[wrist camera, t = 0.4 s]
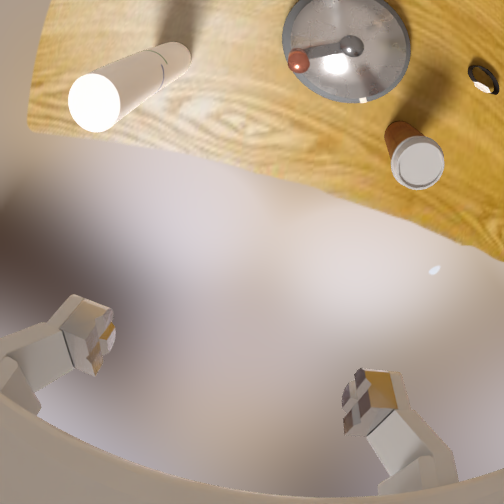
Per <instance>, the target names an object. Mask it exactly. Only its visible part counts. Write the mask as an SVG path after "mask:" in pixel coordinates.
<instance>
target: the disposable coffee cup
mask: <svg viewBox="0 0 504 504" xmlns="http://www.w3.org/2000/svg"><path fill="white" fill-rule="evenodd" d="M384 138H385V142H386V145H387V148H388V152H389V155H390V159H391V169H392V173H393V175H394V177H395V179H396V180H397V181H398V182H399V183H400V184H402V185H404V186H406V187H407V188H410V189H414V190H422V189H426V188H429V187H430V186H432V185H434V184H435V183H436V182H437V181H438V180H439V178H440V177H441V175H442V173H443V169H444V155H443V152H442V150H441V148H440V146H439V145H438V144H437V143H436V142H435V141H434V140H432V139H431V138H428V137H425V136H424V135H423V134H422V133H420V132H419V131H418V130H416V129H415V128H414V127H412V126H411V125H410V124H408V123H406V122H403V121H397V122H394V123H392V124H390V125H389V126H388V128H387V129H386V131H385V136H384Z"/></svg>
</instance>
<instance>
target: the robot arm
mask: <svg viewBox="0 0 504 504" xmlns="http://www.w3.org/2000/svg"><path fill="white" fill-rule="evenodd" d="M113 318H114V315H113V310H112V309H110V308H108V307H106V306H103V305H100V304H98V303H95V302H93V301H90V300H88V299H85V298H82V297H80V296H77V295H75V294H74V295H71V296H70V297H69V298H68V299H67V300H66V301H65V302H64V303H63V305H62V306H61V307H60V308H59V309H58V310H57V312H56V313H55V314H54V315H53V316H52V317H51V318H50V320H49V321H48V322H47V323H44V322H42V323H39V324H36V325H34V326H31V327H29V328H26V329H23V330H21V331H18V332H15V333H13V334H10V335H7V336H5V337H2V338H0V504H504V468H503V469H500V470H497V471H495V472H492V473H488V474H485V475H482V476H479V477H476V478H472V479H468V480H465V481H461V482H459V480H458V475H457V470H456V465H455V461H454V457H453V453H452V451H451V450H450V448H448V446H447V445H446V444H445V443H444V442H443V441H442V440H441V439H440V438H439V436H438V435H437V434H436V433H435V432H434V431H433V430H432V429H431V427H430V426H429V425H428V424H427V423H426V422H425V421H424V420H423V419H422V418H421V416H420V415H419V414H418V413H417V412H416V411H415V410H411V407H410V403H409V399H408V395H407V391H406V388H405V384H404V381H403V377H402V375H401V373H400V372H392V371H384V370H375V369H366V368H360V369H358V370H357V372H356V373H355V374H354V376H355V380H353V381H351V382H349V383H348V384H347V386H346V387H345V389H344V392H343V396H342V408H343V410H344V411H345V412H346V413H347V414H346V416H345V417H344V418H343V423H344V435H350V436H363V437H366V438H367V440H368V442H369V443H370V445H371V447H372V448H373V450H374V451H375V453H376V454H377V456H378V458H379V459H380V461H381V462H382V464H383V466H384V467H385V469H386V470H387V472H388V474H389V475H390V477H389V478H387V479H386V480H384V481H382V482H381V483H380V484H379V485H378V496H366V497H340V498H320V497H296V496H282V495H273V494H264V493H256V492H249V491H242V490H236V489H230V488H224V487H220V486H215V485H210V484H206V483H201V482H197V481H193V480H189V479H185V478H181V477H178V476H174V475H171V474H167V473H164V472H161V471H157V470H154V469H151V468H148V467H145V466H142V465H140V464H137V463H134V462H131V461H128V460H126V459H123V458H120V457H118V456H116V455H113V454H111V453H108V452H106V451H104V450H101V449H99V448H97V447H94V446H92V445H90V444H88V443H86V442H84V441H82V440H80V439H77V438H76V437H74V436H72V435H70V434H68V433H66V432H64V431H62V430H60V429H58V428H56V427H55V426H53V425H51V424H49V423H47V422H46V421H44V420H42V419H41V418H39V417H37V414H38V412H39V411H40V409H41V404H40V402H39V400H38V399H37V397H36V395H35V394H34V393H35V392H36V391H38V390H40V389H41V388H43V387H45V386H46V385H48V384H50V383H52V382H53V381H55V380H57V379H58V378H60V377H62V376H63V375H65V374H66V373H68V372H70V371H72V370H73V369H74V368H76V369H78V370H81V371H83V372H86V373H88V374H90V375H93V376H96V374H97V372H98V370H99V369H100V367H101V366H102V364H103V357H102V356H103V355H105V354H107V353H109V352H110V350H111V349H112V347H113V344H114V341H115V335H116V332H115V326H114V325H113V324H112V322H111V321H112V319H113Z"/></svg>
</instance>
